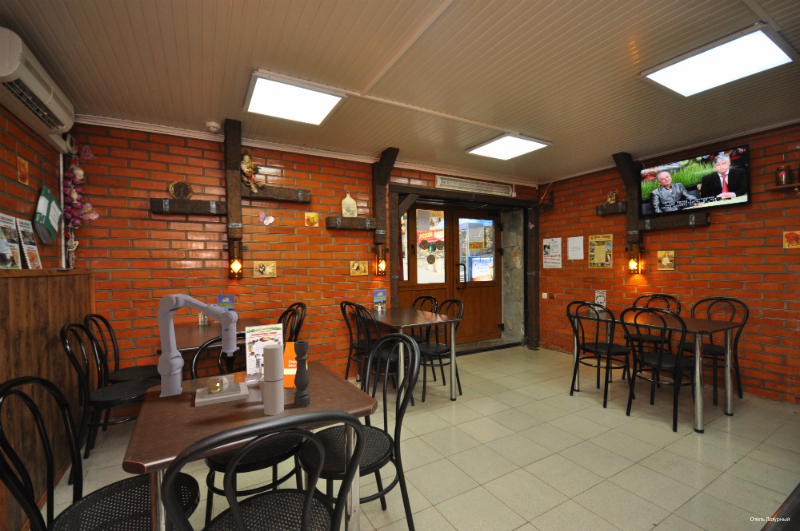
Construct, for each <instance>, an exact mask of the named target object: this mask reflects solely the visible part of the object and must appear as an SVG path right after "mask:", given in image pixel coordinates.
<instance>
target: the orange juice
mask: <svg viewBox="0 0 800 531" xmlns="http://www.w3.org/2000/svg"><path fill="white" fill-rule="evenodd" d="M294 342H295V341H292V342H291V341H286V342H285V348H284V351H283V382H284V388H296V387H295V385H294V378H295V374H296V369H297V361H296V360H295V357H296V354H295V351H294ZM306 356H308V354H307V355H306ZM306 368H307V369H308V359H307V360H306ZM293 386H294V387H293Z"/></svg>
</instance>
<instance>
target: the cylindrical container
mask: <svg viewBox="0 0 800 531" xmlns="http://www.w3.org/2000/svg"><path fill="white" fill-rule="evenodd" d="M262 352H263V355H262V358H263V377H264V404H263V415H265V414H266V415H265V416H267V415H274V414H278V415H280V414H279V413H280V412H282V411H285V402H284V401H285V398H284V397H285V396H284V395H285V394H284V393H285V392H284V391H285V390H284V388H285V387H284V345H283V344H277V343H276V344H267V345H264V346H263V347H262ZM274 416H275V415H274Z"/></svg>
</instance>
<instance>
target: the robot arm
mask: <svg viewBox="0 0 800 531" xmlns="http://www.w3.org/2000/svg"><path fill="white" fill-rule="evenodd" d="M184 307H189V308H192V309H193V310H194V309H195V310H197V311H201V312H202V313H204V315H205V316H206V317H208V318H211V319H213V320H215V321H218V322H219V324H221V352H222V359H223V361H224V363H225V368H226V372H228V373H229V372H233V371H234V367H235V361H236V359H237V357H238V354H236V352H237V351H239V350H240V347H239V346H237V321H239V320H238V319H239V315H238V313H237V312H236V311H235V310H233V309H231V310H229V309H228V308H223V307H221V306H219V304H217V303H211V304H206V303H204V302H202V301H200V300H198V299H196V298H194V297H192V296H190V295H188V294H185V293H182V292H181V293H173V294H166V295H164V296H162V298H160V299H159V306H158V309H157V322H158V330H159V336H160V337H159V338H160V339H159V340H160V345H161V354H160V355H159V358H158V365H157V368H156V369H157V372H158V374H160V377H161V378H160V379H161V392H160V394H159V398H165V397H172V396H178V395H182V391H183V387H181V386H182V385H181V384H182V382H181V376H182V375H181V371H182V368H183V367H184V364H185V361H184V358H183V356H182V354H181V352H180V351H179V350H178V349H177V344H176V343H177V342H176V341H177V340H176V334H175V332H176V331H175V326H174V320H173V319H174V318H173V315H174V314H175V313H176V312H177V311H178V310H180V309H182V308H184Z"/></svg>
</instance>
